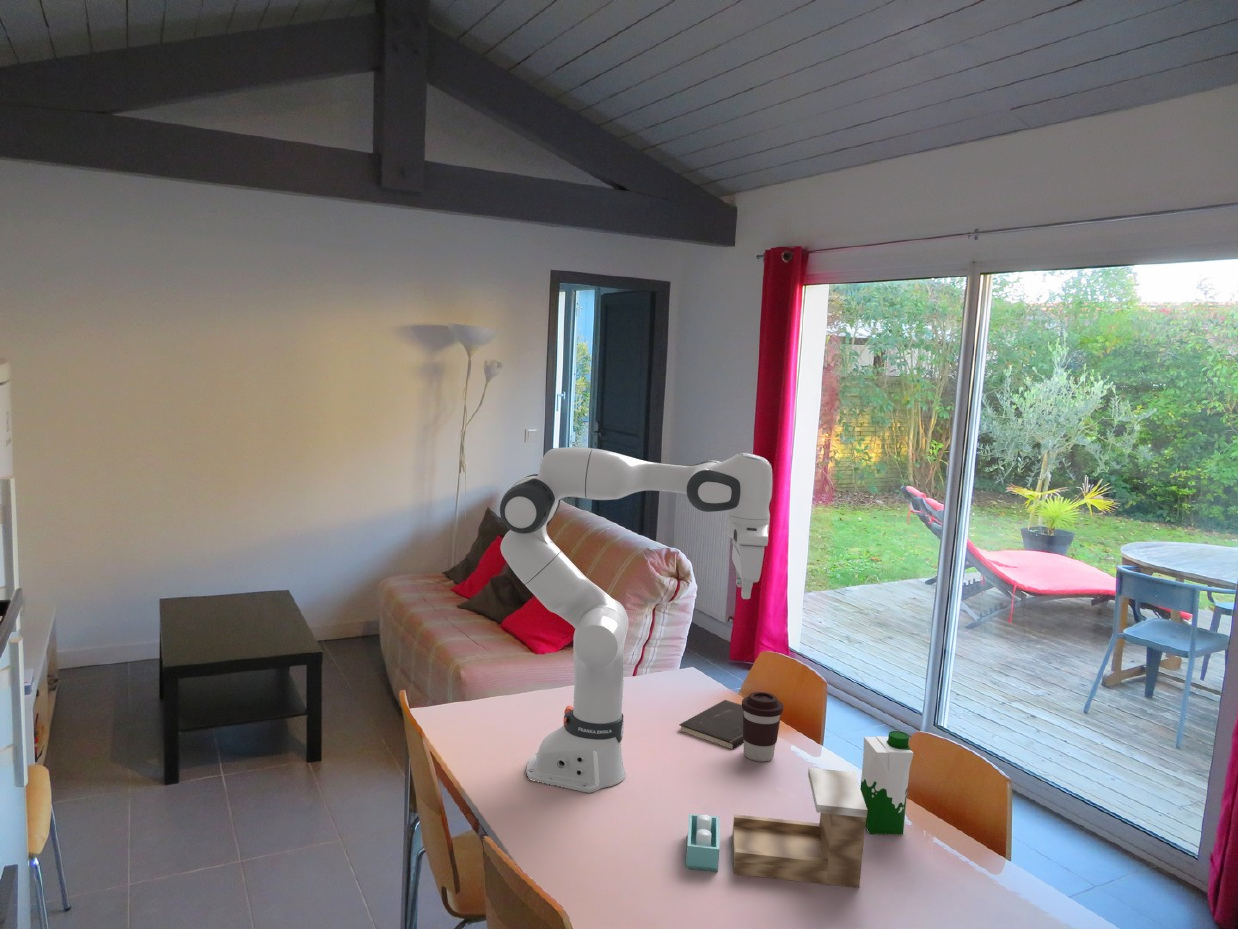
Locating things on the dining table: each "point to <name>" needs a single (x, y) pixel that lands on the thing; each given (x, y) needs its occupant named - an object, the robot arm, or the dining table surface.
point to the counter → (808, 836)
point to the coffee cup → (761, 725)
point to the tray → (703, 852)
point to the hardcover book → (718, 724)
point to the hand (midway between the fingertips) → (742, 592)
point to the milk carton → (886, 782)
